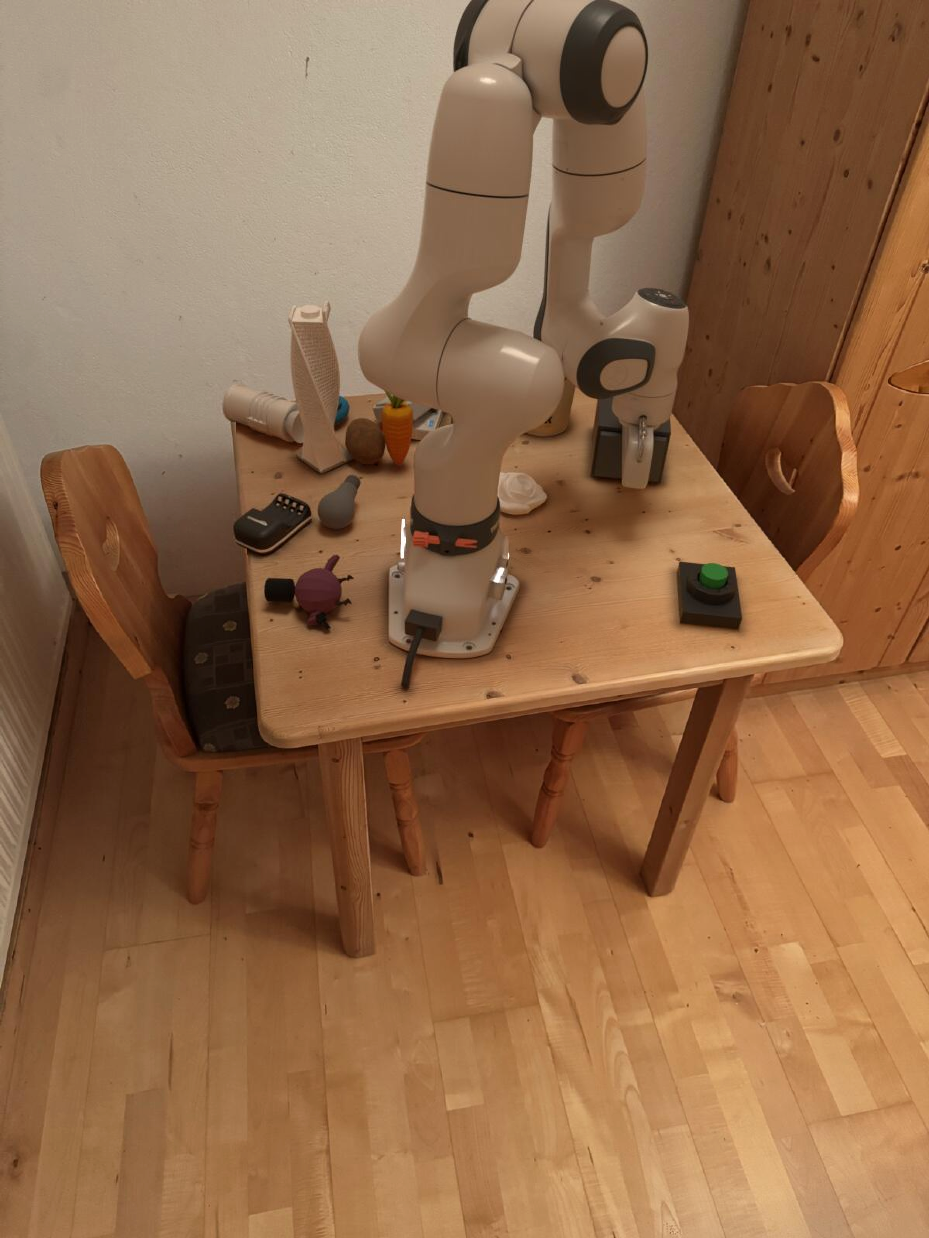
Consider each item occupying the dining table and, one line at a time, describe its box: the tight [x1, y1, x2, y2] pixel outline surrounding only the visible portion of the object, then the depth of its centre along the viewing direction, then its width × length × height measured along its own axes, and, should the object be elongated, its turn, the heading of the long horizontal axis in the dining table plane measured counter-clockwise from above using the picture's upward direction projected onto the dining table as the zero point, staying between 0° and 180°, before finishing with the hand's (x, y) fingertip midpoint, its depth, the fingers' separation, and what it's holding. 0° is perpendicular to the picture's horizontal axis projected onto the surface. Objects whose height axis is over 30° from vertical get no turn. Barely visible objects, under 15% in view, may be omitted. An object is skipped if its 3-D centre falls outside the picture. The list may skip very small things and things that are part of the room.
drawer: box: [594, 430, 666, 483], centre depth 148 cm, size 15×10×8 cm
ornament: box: [334, 395, 351, 427], centre depth 158 cm, size 8×5×10 cm
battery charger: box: [232, 492, 313, 556], centre depth 134 cm, size 7×4×11 cm
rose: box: [498, 471, 548, 516], centre depth 141 cm, size 10×4×10 cm
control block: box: [676, 561, 743, 631], centre depth 125 cm, size 11×8×4 cm
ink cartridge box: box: [381, 408, 445, 441], centre depth 158 cm, size 2×11×10 cm
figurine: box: [263, 554, 355, 631], centre depth 121 cm, size 8×8×12 cm
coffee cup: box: [524, 331, 577, 437], centre depth 156 cm, size 12×12×15 cm
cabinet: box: [590, 397, 672, 484], centre depth 150 cm, size 15×12×10 cm
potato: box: [344, 417, 386, 465], centre depth 148 cm, size 7×10×6 cm
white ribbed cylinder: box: [221, 383, 305, 444], centre depth 154 cm, size 7×7×15 cm
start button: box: [699, 562, 728, 589], centre depth 123 cm, size 4×4×2 cm
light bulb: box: [317, 474, 362, 530], centre depth 136 cm, size 6×6×10 cm
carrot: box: [381, 391, 413, 467], centre depth 144 cm, size 5×5×15 cm
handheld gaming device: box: [372, 394, 431, 423], centre depth 158 cm, size 9×15×4 cm, turn 153°
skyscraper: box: [287, 299, 356, 475], centre depth 140 cm, size 8×8×28 cm
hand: (628, 480), depth 140 cm, fingers closed
